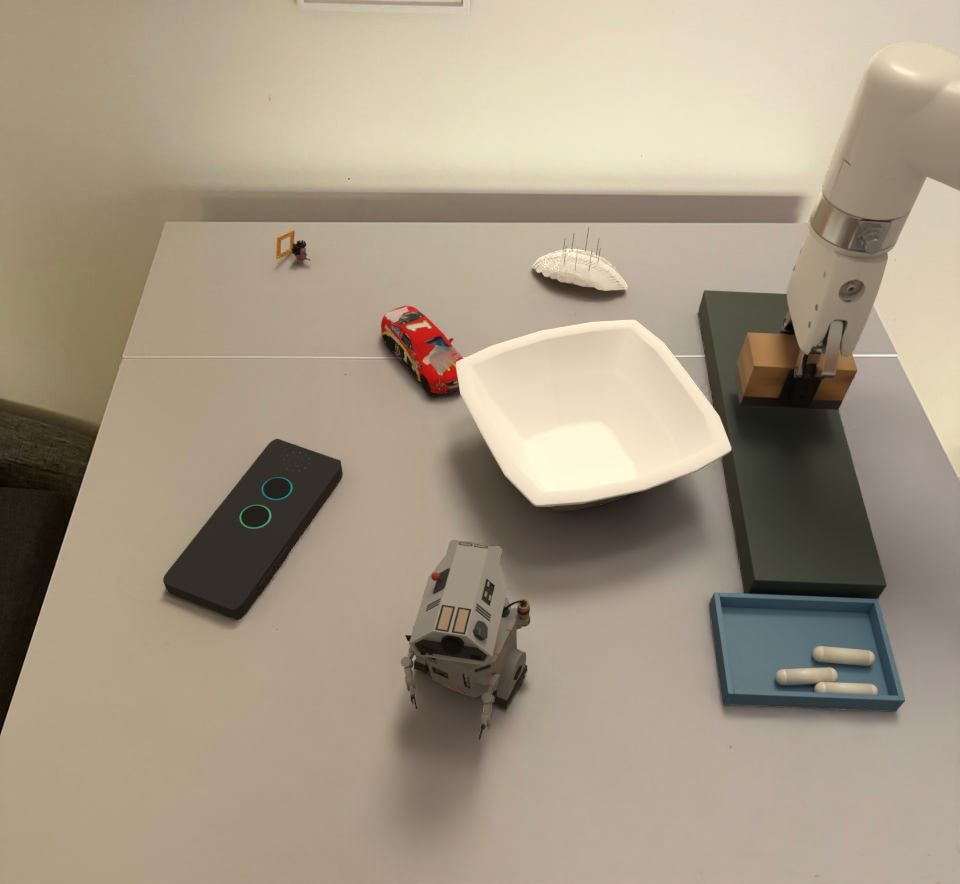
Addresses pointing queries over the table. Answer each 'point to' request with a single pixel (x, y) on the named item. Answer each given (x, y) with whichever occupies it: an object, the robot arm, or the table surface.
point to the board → (786, 472)
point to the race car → (422, 348)
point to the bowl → (589, 413)
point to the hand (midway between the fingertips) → (789, 383)
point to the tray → (800, 649)
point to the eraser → (784, 372)
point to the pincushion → (580, 269)
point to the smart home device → (254, 529)
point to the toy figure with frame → (292, 247)
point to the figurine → (469, 629)
